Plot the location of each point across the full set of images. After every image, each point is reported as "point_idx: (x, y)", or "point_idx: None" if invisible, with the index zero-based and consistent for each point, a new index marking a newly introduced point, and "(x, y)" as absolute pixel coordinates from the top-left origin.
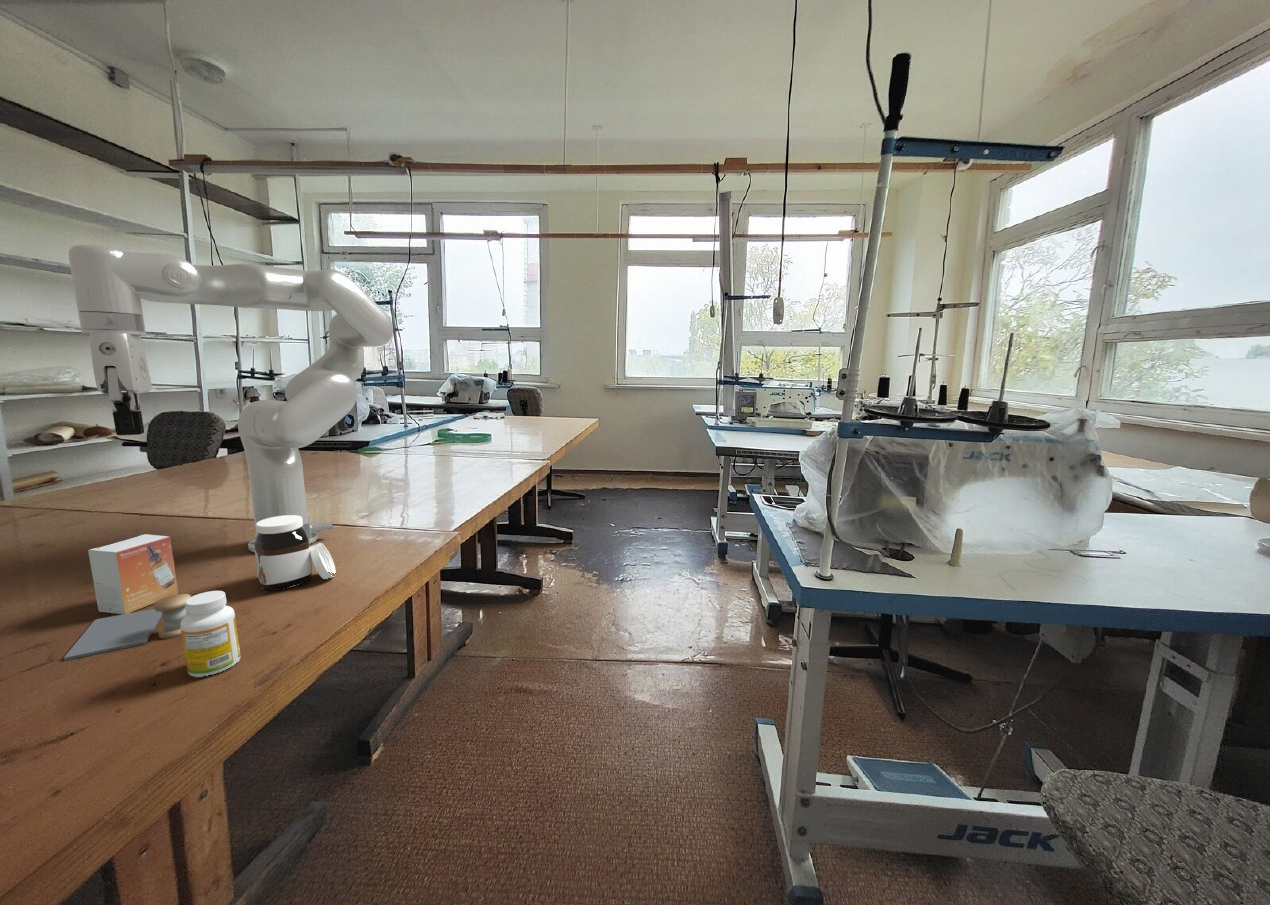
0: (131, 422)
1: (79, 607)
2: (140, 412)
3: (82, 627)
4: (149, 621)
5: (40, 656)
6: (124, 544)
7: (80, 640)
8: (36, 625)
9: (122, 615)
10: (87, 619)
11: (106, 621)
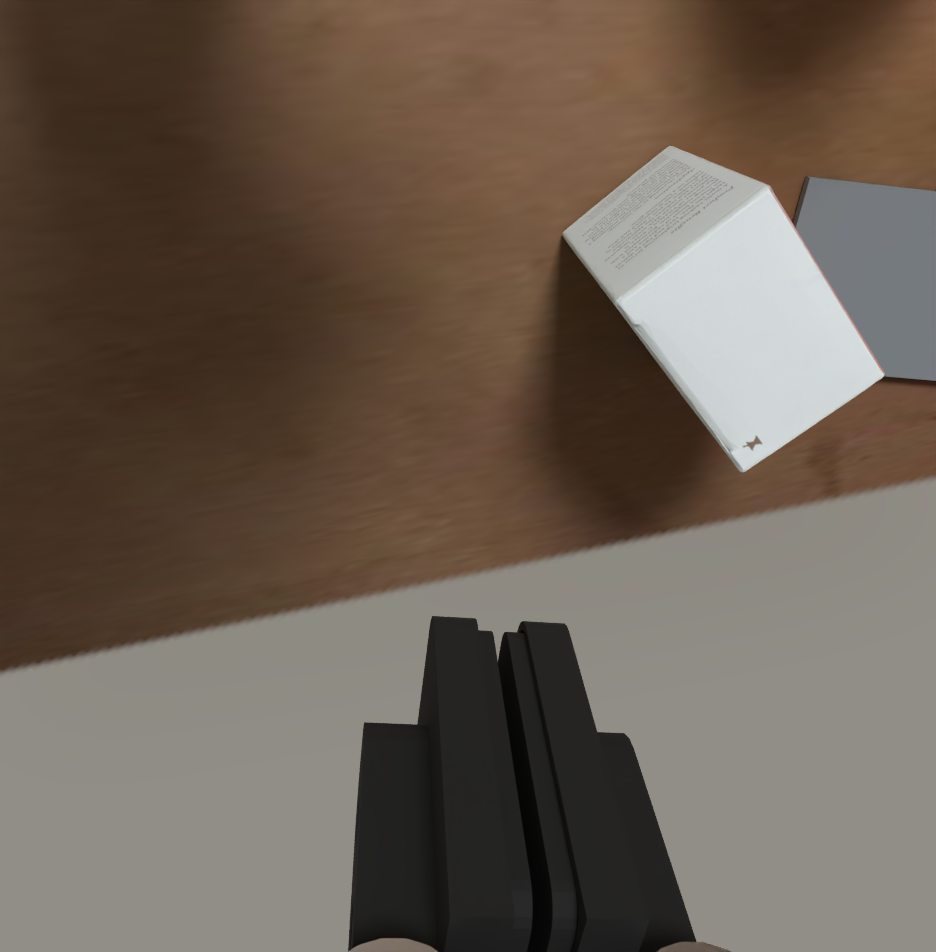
0: (646, 817)
1: (566, 425)
2: (506, 887)
3: None
4: (919, 214)
5: (911, 437)
6: (779, 360)
7: (906, 372)
8: (649, 494)
9: None
10: None
11: None
